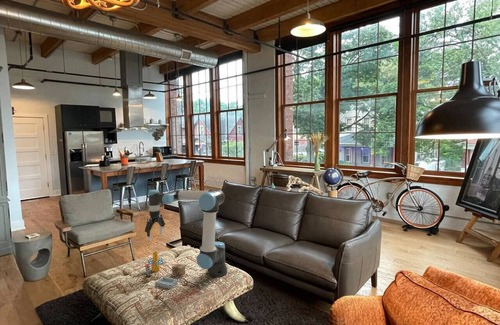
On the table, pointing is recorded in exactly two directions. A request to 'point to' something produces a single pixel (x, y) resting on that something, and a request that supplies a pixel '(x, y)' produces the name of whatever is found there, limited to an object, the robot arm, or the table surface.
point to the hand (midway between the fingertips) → (155, 237)
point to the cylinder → (155, 261)
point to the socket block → (148, 278)
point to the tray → (166, 282)
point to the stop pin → (148, 270)
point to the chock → (178, 270)
